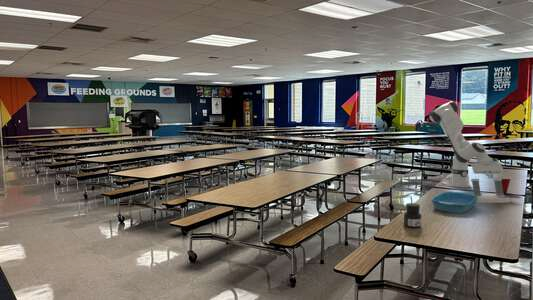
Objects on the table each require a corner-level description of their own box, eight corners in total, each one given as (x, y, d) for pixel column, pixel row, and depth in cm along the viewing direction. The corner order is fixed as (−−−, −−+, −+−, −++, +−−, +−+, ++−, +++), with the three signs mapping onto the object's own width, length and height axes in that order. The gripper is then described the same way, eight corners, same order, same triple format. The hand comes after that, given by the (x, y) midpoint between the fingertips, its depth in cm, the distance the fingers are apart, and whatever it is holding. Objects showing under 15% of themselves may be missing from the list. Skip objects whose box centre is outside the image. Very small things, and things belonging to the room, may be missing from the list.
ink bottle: (409, 229, 201) (410, 207, 199) (399, 224, 209) (400, 203, 208) (425, 227, 203) (426, 205, 202) (414, 223, 212) (415, 202, 211)
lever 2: (496, 195, 263) (493, 179, 266) (502, 195, 264) (499, 178, 266) (498, 195, 261) (495, 178, 264) (504, 195, 261) (501, 178, 264)
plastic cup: (505, 191, 291) (506, 175, 290) (513, 194, 281) (514, 178, 280) (491, 191, 293) (491, 175, 291) (498, 194, 282) (498, 178, 281)
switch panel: (467, 198, 269) (467, 193, 269) (497, 197, 270) (497, 193, 270) (478, 203, 256) (479, 198, 255) (510, 202, 256) (510, 197, 256)
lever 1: (473, 196, 263) (471, 179, 266) (479, 196, 263) (477, 179, 266) (475, 195, 261) (472, 178, 264) (481, 195, 261) (479, 178, 264)
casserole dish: (464, 217, 223) (465, 205, 223) (426, 210, 238) (426, 199, 238) (481, 205, 250) (481, 194, 250) (445, 200, 265) (446, 190, 265)
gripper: (471, 159, 276) (478, 175, 267) (500, 159, 275) (507, 175, 267) (468, 165, 281) (474, 180, 272) (496, 164, 280) (503, 180, 271)
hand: (491, 177), depth 269 cm, fingers closed
